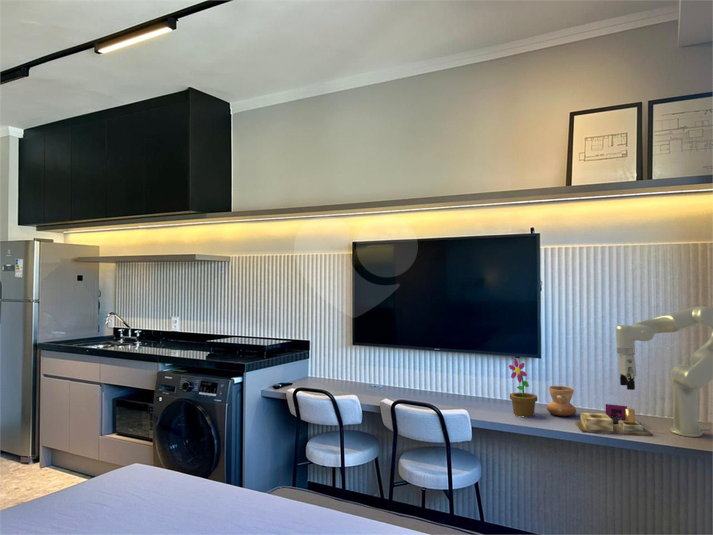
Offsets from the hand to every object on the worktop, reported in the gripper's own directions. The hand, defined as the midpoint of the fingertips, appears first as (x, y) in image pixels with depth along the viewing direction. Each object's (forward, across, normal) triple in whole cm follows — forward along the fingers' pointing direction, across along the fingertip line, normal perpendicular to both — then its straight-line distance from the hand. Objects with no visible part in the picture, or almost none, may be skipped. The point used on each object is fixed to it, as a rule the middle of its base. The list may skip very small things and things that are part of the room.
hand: (627, 387), depth 234 cm
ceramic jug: (+20, +25, +26) cm, 41 cm away
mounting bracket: (+21, +17, +1) cm, 27 cm away
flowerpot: (+20, +20, +46) cm, 53 cm away
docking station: (+20, 0, +8) cm, 22 cm away
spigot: (+19, 0, 0) cm, 19 cm away
